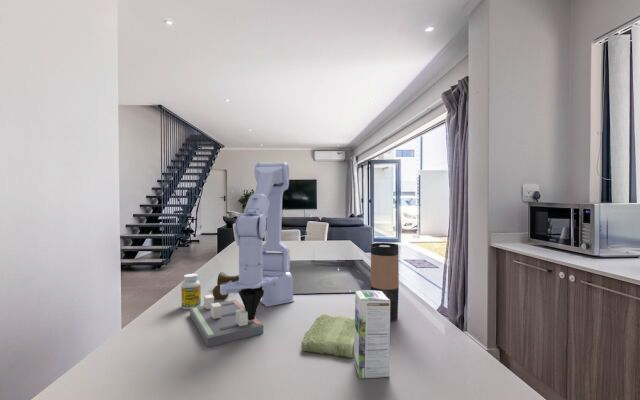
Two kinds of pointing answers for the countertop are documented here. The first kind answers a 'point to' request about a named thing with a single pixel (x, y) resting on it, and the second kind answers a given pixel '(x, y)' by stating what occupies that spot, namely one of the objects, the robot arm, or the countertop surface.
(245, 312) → the handle
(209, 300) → the handle right
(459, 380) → the countertop surface
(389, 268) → the travel mug
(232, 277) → the kendama
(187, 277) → the supplement bottle
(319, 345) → the washcloth
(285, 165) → the robot arm
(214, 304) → the handle middle
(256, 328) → the switch panel
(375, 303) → the syrup box
